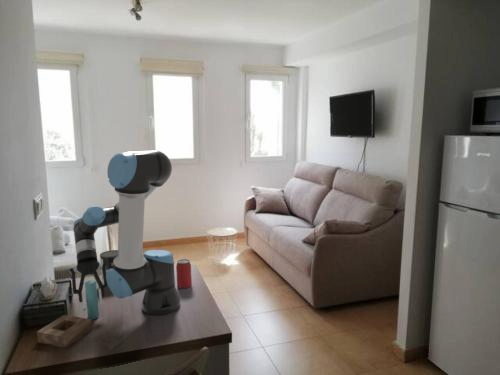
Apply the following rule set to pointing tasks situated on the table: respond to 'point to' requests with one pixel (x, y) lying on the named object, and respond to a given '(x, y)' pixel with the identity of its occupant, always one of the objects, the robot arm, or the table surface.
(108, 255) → the coffee can
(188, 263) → the beer can
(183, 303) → the table surface
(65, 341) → the walnut hole block
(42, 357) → the table surface
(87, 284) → the teal pin
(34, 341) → the table surface
